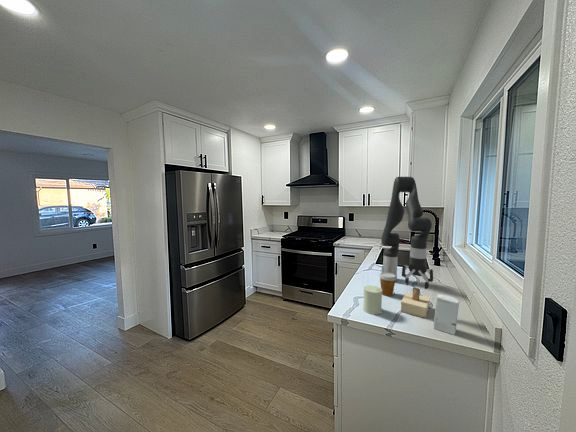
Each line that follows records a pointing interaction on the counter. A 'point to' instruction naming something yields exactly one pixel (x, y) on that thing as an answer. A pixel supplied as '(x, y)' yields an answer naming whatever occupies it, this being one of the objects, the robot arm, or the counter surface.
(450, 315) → the skincare box
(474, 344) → the counter surface
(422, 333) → the counter surface
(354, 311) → the counter surface
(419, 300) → the lid
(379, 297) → the can
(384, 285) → the disposable coffee cup
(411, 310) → the tan shallow open box
